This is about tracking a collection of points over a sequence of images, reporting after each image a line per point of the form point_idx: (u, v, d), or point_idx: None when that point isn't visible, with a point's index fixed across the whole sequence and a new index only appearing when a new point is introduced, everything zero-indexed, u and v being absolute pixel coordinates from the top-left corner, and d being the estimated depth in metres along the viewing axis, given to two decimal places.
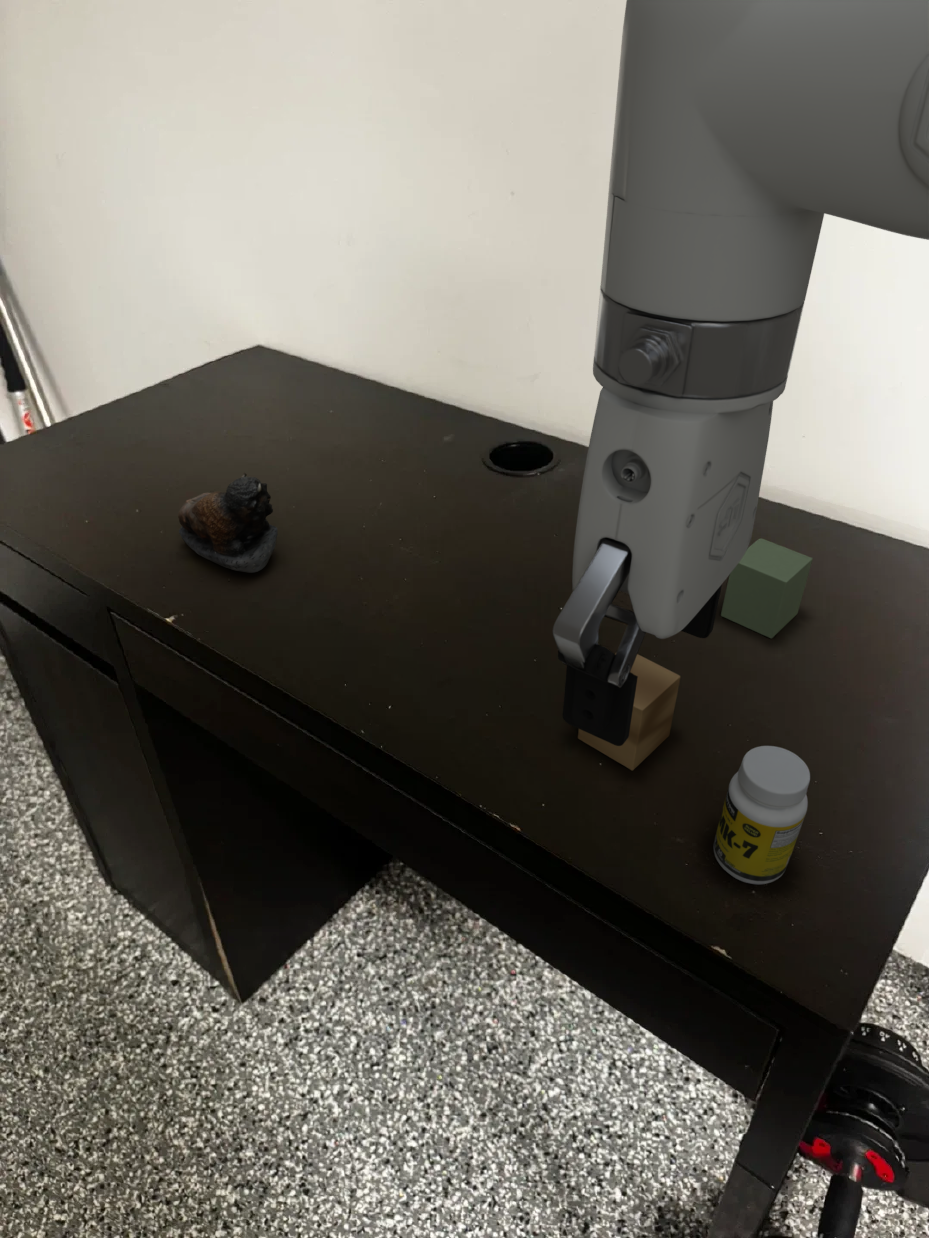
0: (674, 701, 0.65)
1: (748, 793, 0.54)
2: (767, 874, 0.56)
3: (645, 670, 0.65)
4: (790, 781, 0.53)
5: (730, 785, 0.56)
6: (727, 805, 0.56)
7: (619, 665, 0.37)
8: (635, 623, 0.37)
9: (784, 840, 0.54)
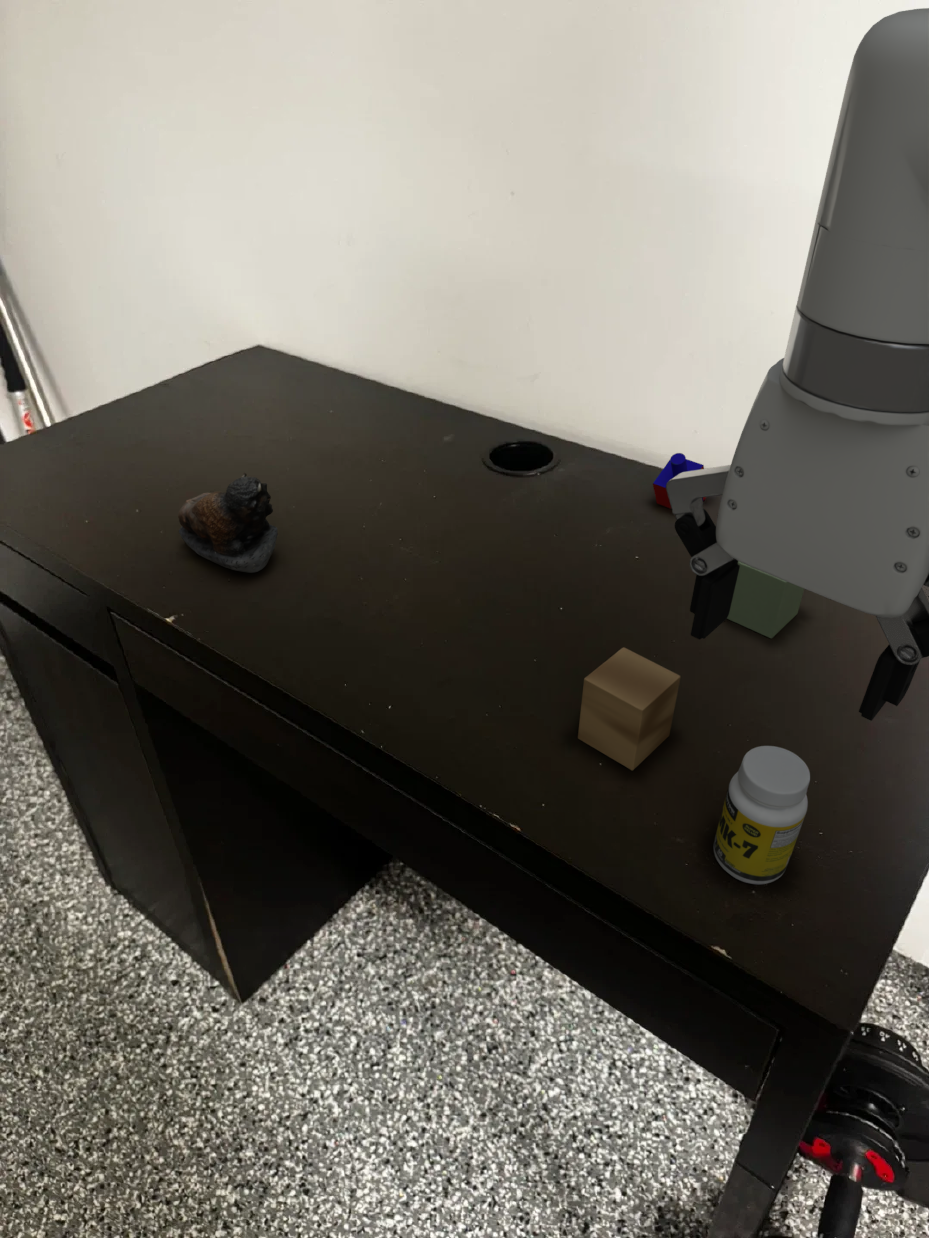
0: (674, 701, 0.65)
1: (748, 793, 0.54)
2: (767, 874, 0.56)
3: (645, 670, 0.65)
4: (790, 781, 0.53)
5: (730, 785, 0.56)
6: (727, 805, 0.56)
7: None
8: None
9: (785, 840, 0.54)
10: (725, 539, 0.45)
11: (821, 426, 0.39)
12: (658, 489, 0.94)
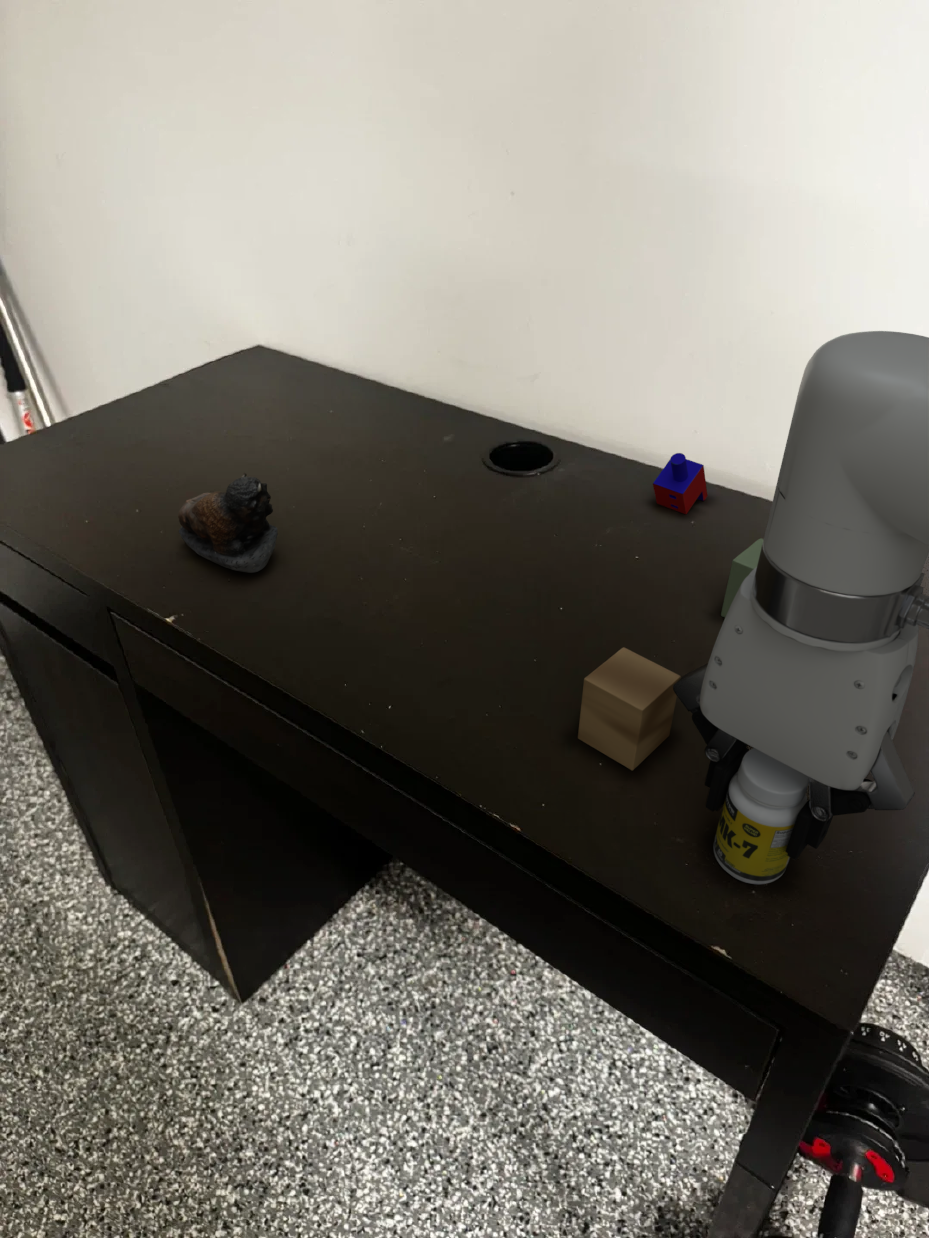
0: (674, 701, 0.65)
1: (748, 793, 0.54)
2: (767, 874, 0.56)
3: (645, 670, 0.65)
4: (790, 781, 0.53)
5: (730, 785, 0.56)
6: (727, 805, 0.56)
7: None
8: None
9: (784, 840, 0.54)
10: (707, 710, 0.53)
11: (784, 639, 0.46)
12: (658, 489, 0.94)
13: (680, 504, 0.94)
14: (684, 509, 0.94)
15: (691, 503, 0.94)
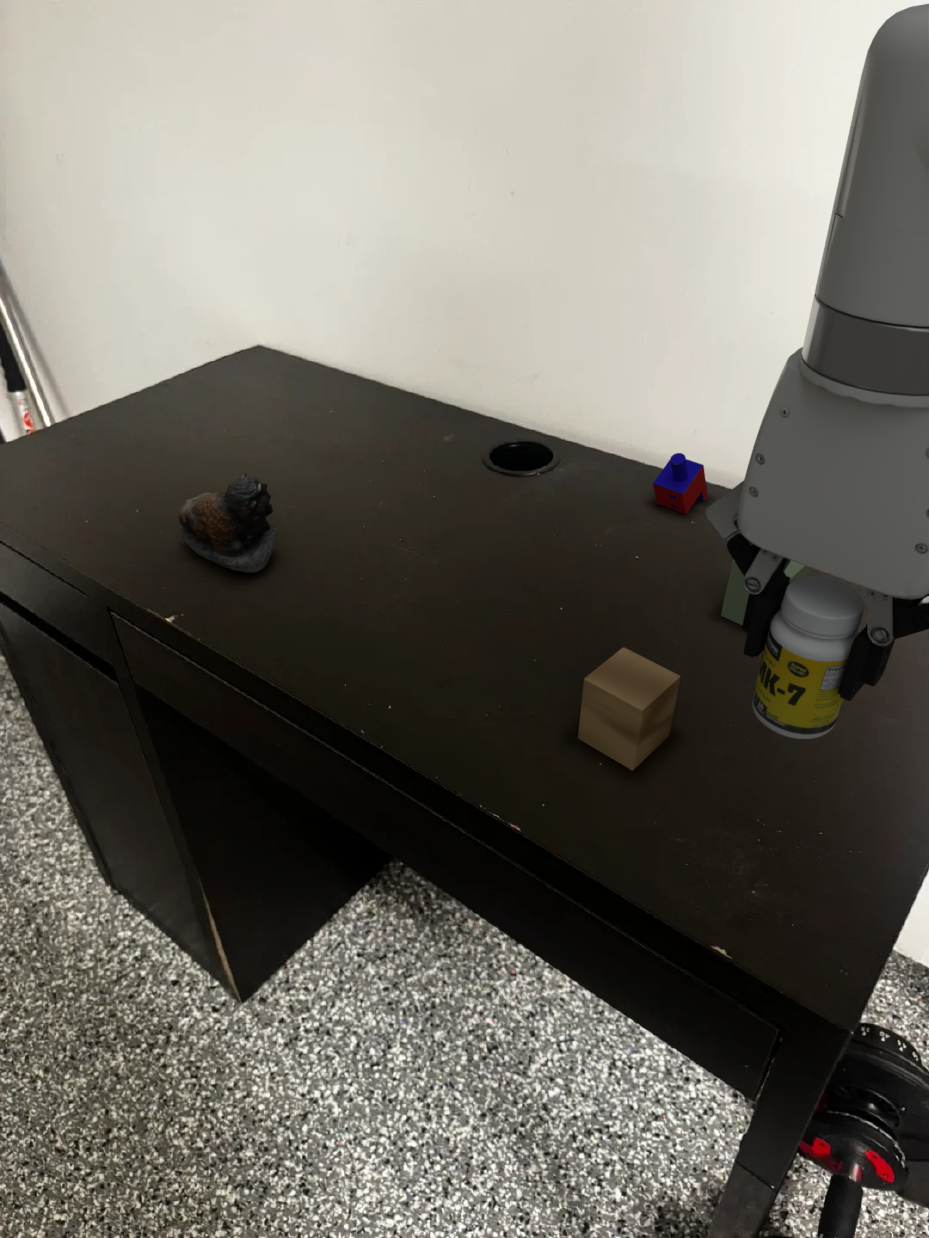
0: (674, 701, 0.65)
1: (794, 624, 0.47)
2: (816, 726, 0.49)
3: (645, 670, 0.65)
4: (843, 607, 0.46)
5: (772, 623, 0.49)
6: (769, 645, 0.49)
7: None
8: None
9: (836, 680, 0.48)
10: (747, 526, 0.46)
11: (841, 411, 0.40)
12: (658, 489, 0.94)
13: (680, 504, 0.94)
14: (684, 509, 0.94)
15: (691, 503, 0.94)
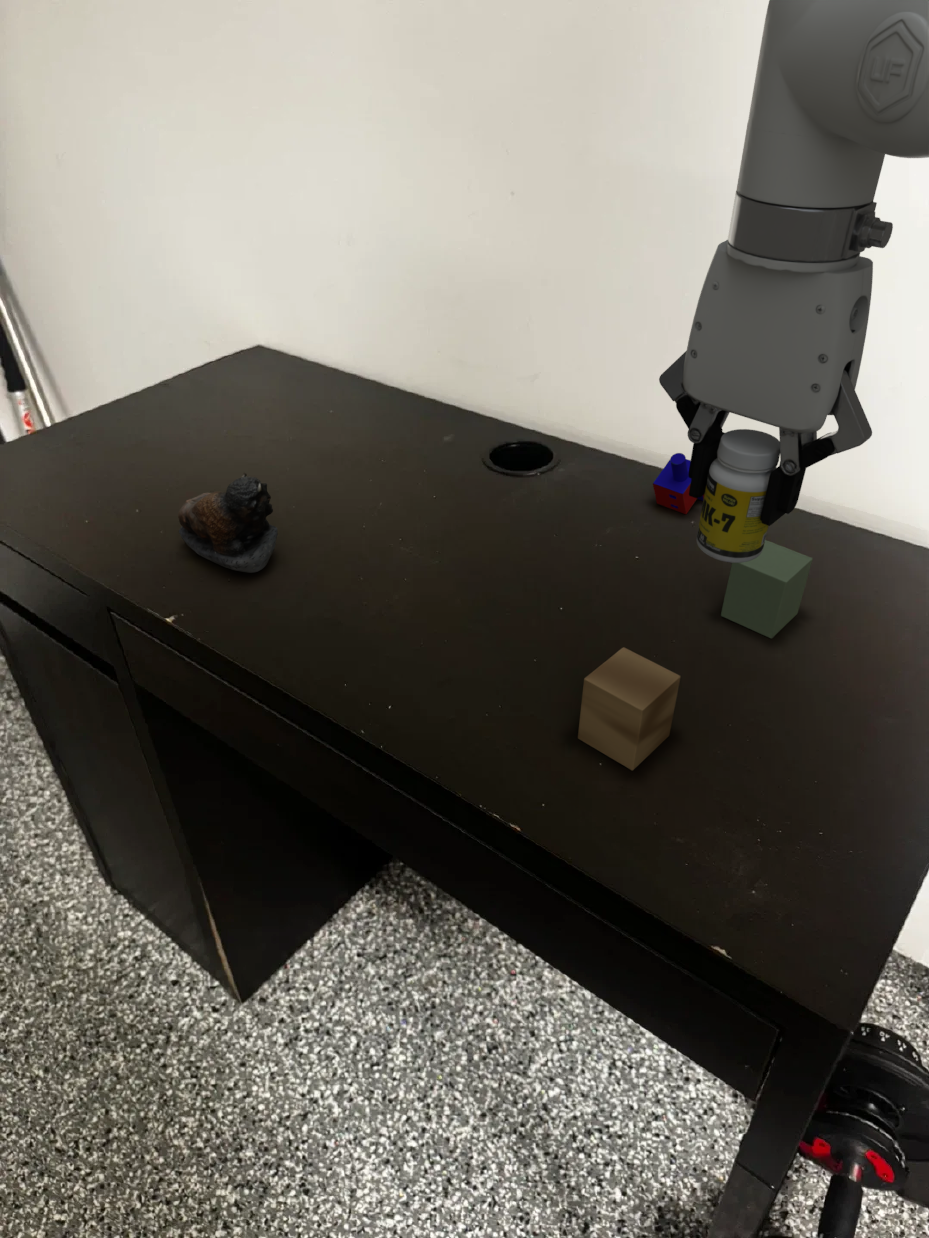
0: (674, 701, 0.65)
1: (726, 463, 0.60)
2: (744, 550, 0.62)
3: (645, 670, 0.65)
4: (763, 448, 0.59)
5: (710, 466, 0.62)
6: (708, 484, 0.62)
7: None
8: None
9: (759, 509, 0.60)
10: (689, 384, 0.59)
11: (755, 280, 0.52)
12: (658, 489, 0.94)
13: (680, 504, 0.94)
14: (684, 509, 0.94)
15: (691, 503, 0.94)
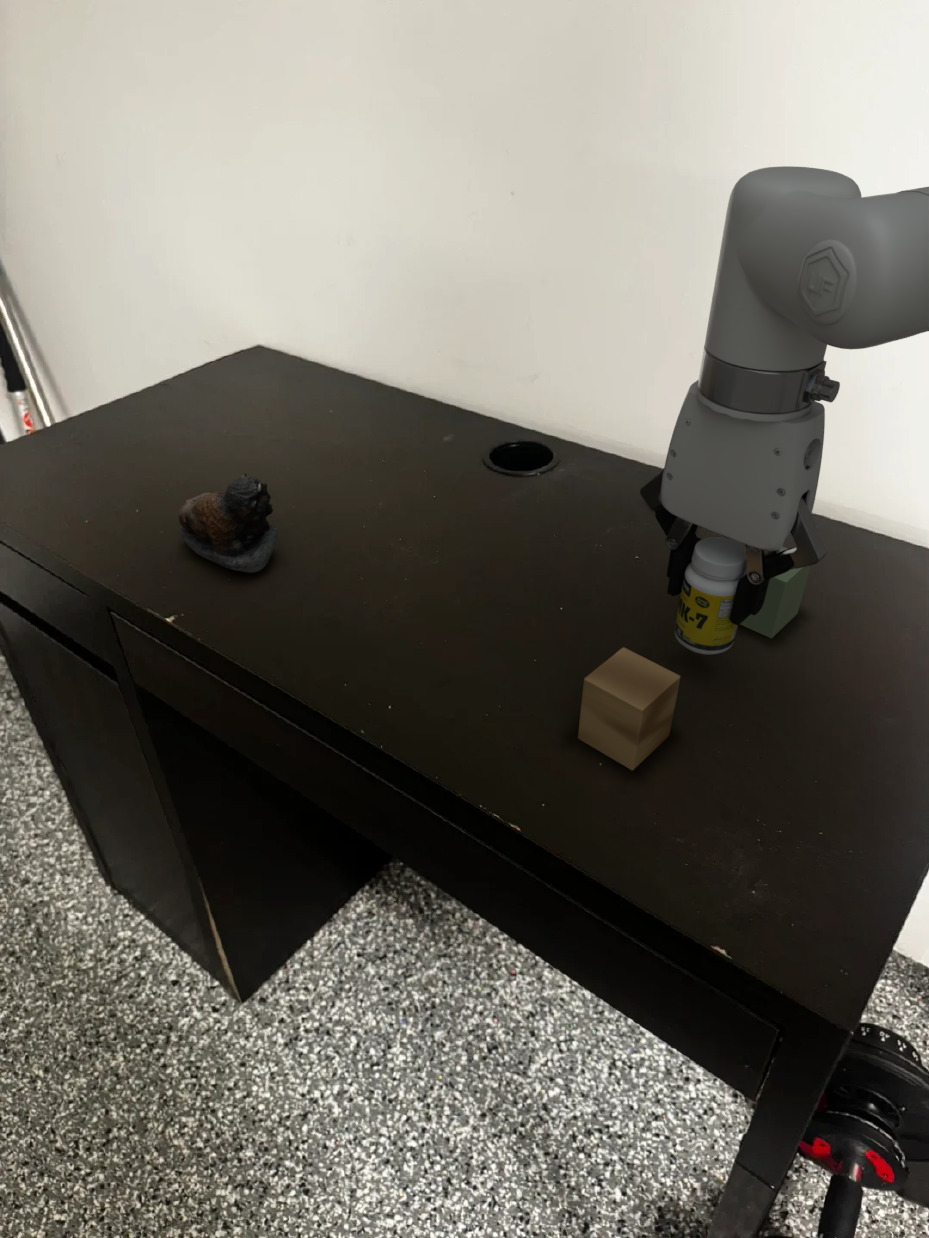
0: (674, 701, 0.65)
1: (699, 570, 0.67)
2: (716, 644, 0.69)
3: (645, 670, 0.65)
4: (732, 558, 0.66)
5: (686, 570, 0.69)
6: (684, 586, 0.69)
7: None
8: None
9: (729, 610, 0.67)
10: (666, 500, 0.66)
11: (721, 422, 0.59)
12: None
13: None
14: None
15: None
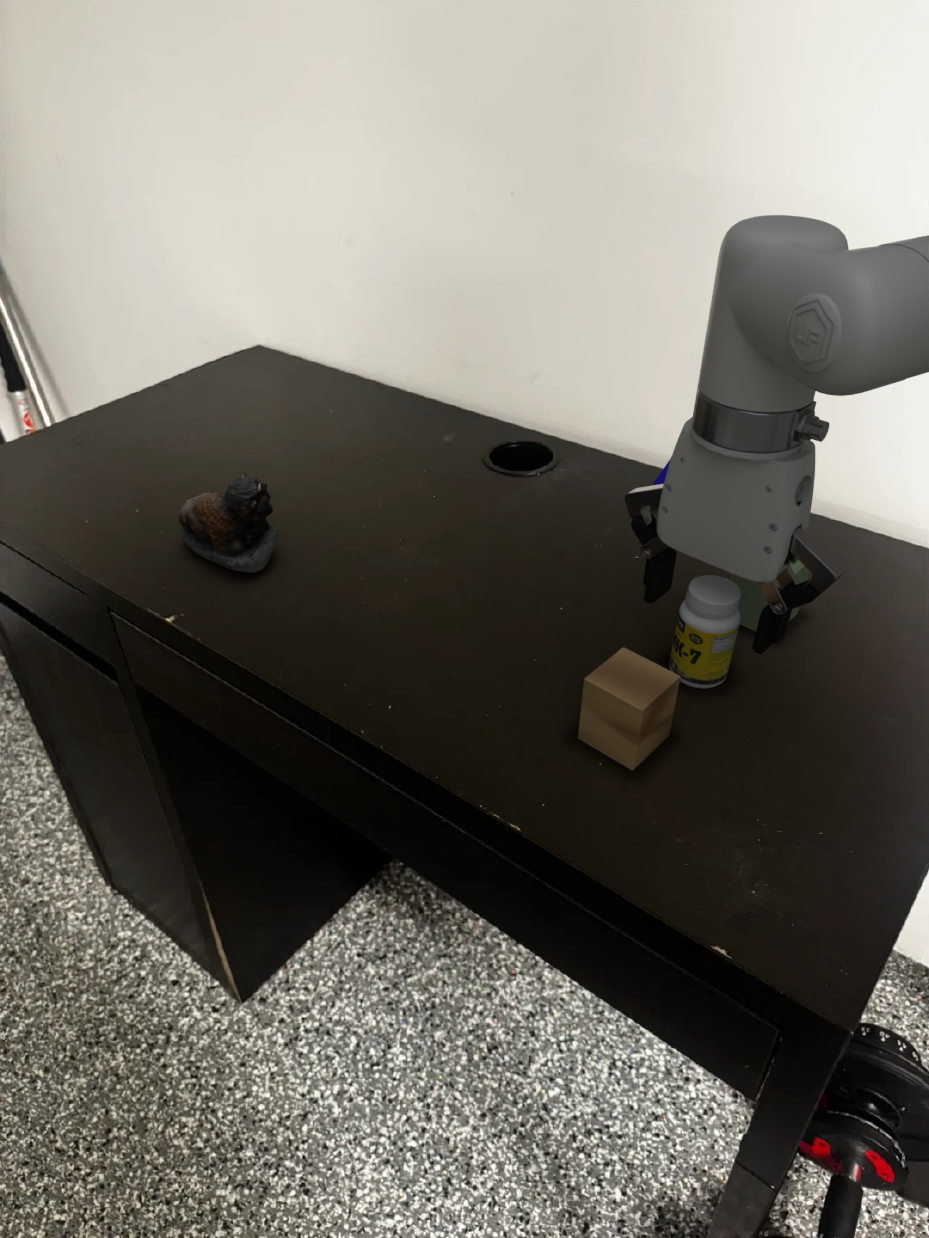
0: (674, 701, 0.65)
1: (693, 607, 0.69)
2: (710, 679, 0.71)
3: (645, 670, 0.65)
4: (725, 596, 0.68)
5: (680, 606, 0.71)
6: (678, 622, 0.71)
7: None
8: (788, 564, 0.65)
9: (722, 647, 0.69)
10: (662, 533, 0.67)
11: (715, 460, 0.61)
12: None
13: None
14: None
15: None
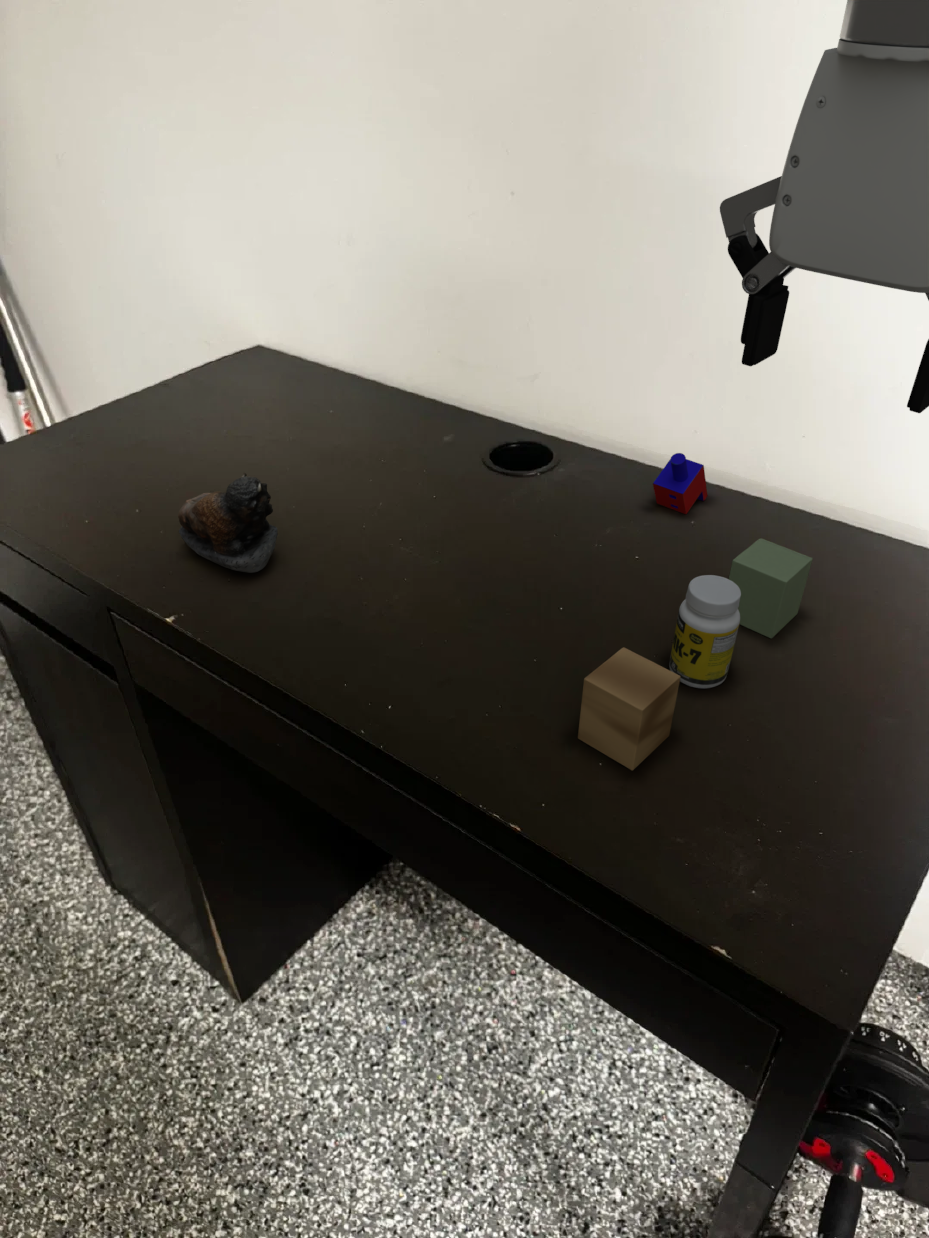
0: (674, 701, 0.65)
1: (693, 608, 0.69)
2: (710, 679, 0.71)
3: (645, 670, 0.65)
4: (725, 596, 0.68)
5: (680, 606, 0.71)
6: (678, 622, 0.71)
7: None
8: None
9: (722, 647, 0.69)
10: (779, 242, 0.47)
11: (877, 86, 0.41)
12: (658, 489, 0.94)
13: (680, 504, 0.94)
14: (684, 509, 0.94)
15: (691, 503, 0.94)
